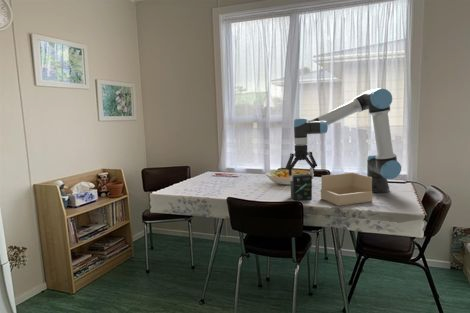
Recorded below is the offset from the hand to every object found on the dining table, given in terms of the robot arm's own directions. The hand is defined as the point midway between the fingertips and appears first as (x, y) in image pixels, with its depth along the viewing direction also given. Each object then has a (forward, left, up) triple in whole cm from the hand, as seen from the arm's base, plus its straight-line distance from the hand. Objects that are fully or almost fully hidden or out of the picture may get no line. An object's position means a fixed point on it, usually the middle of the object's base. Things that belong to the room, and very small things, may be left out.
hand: (301, 179), depth 201 cm
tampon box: (+1, 0, -12) cm, 12 cm away
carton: (-21, +15, -12) cm, 28 cm away
